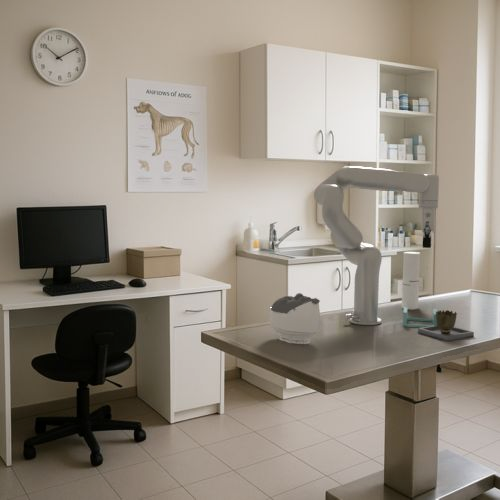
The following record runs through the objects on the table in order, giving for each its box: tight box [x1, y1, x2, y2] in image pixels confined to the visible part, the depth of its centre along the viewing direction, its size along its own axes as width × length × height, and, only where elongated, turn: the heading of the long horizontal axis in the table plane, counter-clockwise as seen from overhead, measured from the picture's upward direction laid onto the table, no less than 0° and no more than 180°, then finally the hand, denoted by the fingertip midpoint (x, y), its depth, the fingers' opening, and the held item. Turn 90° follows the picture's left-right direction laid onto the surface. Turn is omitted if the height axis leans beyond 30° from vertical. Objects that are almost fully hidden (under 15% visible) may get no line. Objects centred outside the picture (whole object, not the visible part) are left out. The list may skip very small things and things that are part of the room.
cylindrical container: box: [401, 251, 421, 310], centre depth 274 cm, size 7×7×25 cm
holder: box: [402, 307, 438, 328], centre depth 244 cm, size 12×13×6 cm
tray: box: [417, 325, 475, 342], centre depth 228 cm, size 14×14×2 cm
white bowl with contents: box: [269, 292, 321, 345], centre depth 217 cm, size 13×17×20 cm
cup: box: [436, 309, 458, 334], centre depth 227 cm, size 8×7×8 cm
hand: (426, 246), depth 251 cm, fingers open, 9 cm apart
